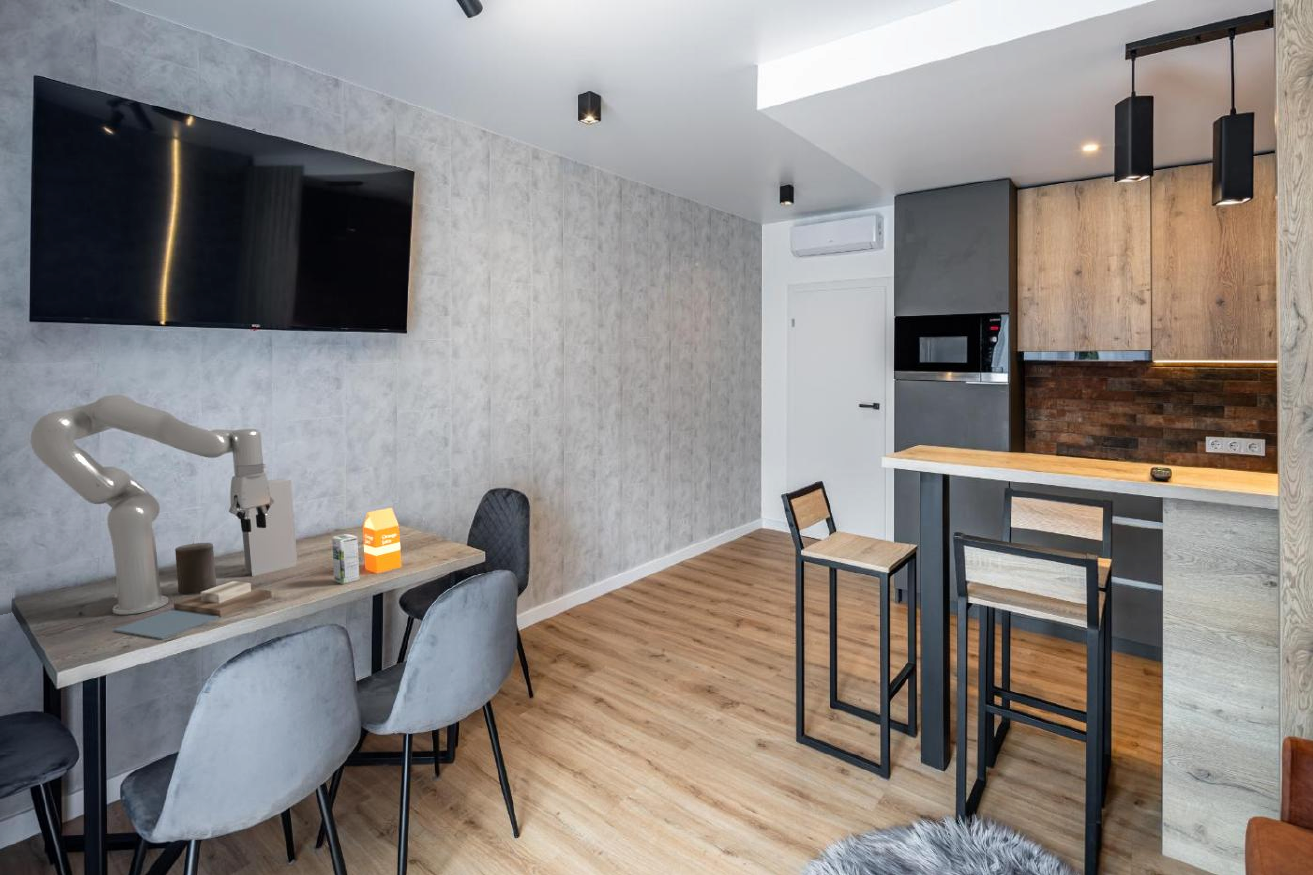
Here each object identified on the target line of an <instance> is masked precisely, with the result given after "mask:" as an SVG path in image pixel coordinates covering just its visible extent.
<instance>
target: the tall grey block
mask: <svg viewBox="0 0 1313 875" xmlns="http://www.w3.org/2000/svg"><path fill="white" fill-rule="evenodd" d="M268 484H269V490H270V497H271V498H272V499H273V500H274V503H273V504H272V505H271V506H270V508H269V510H268V511H267V514H266V515H265V516H266V528H258V527H257V524H256V515H257V514H258V513H257V510H256V507H255V508H250V509H249V517H248V519H250V520H251V532H241V534H242V544H243V557H244V566H245V567H244V569H245V573H246V574H251V576H252V577H257V576H260V574H261V575H263V574H268V573H272V572H277V571H281V570H286V569H289V568H293V567H294V566H295V567H298V556H297V555H298V554H297V540H296V529H295V517H294V515H295V514H294V503H293V492H292V491H293V490H292V479H288V480H287V479H285V478H277V479H271V480H268ZM243 514H244V512H243Z"/></svg>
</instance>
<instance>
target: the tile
mask: <svg viewBox="0 0 1313 875" xmlns="http://www.w3.org/2000/svg"><path fill="white" fill-rule="evenodd" d="M251 588H252V584H251V582H243V581H235V580H232V581H230V582H227V583H224V584H223V583H222V584H221V585H216V587H214V588H211V589H208V590H205V591H202V592H201V593H200V594H201V601H208V602H215V603H221V602H224V601H226V600H229V599H232V598H234V597H237V596H240V595H243V594H245V593H248V592H251Z"/></svg>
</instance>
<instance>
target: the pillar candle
mask: <svg viewBox="0 0 1313 875" xmlns="http://www.w3.org/2000/svg"><path fill="white" fill-rule="evenodd" d="M174 550H175V563H176V564H175V565H176V577H177V591H178V593H179V594H181V595H193V594H194V595H195V594H197V595H198V594H201V592H202V591H205V590H208V589H211V588H214V587H217V578H216V567H215V565H216V564H215V556H214V555H215V553H214V552H215V551H214V543H211V542H198V543H197V542H196V543H194V542H192V543H189V544H183V545H181V546H178V547H176V548H174Z"/></svg>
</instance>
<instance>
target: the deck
mask: <svg viewBox="0 0 1313 875" xmlns="http://www.w3.org/2000/svg"><path fill="white" fill-rule="evenodd" d="M271 598H273V597H272V590H267V589H265V590H264V589H259V588H252V587H251V592H248V593H245V594H243V595H240V596H237V597H234V598H232V599H229V600H226V601H224V602H221V603H215V602H208V601H201V593H199V594H197V595H195V596H192V597H191V596H190V597H188V598H186V599H183V600H179V601H177V602H174V603H173V609H174V610H181V611H188V612H194V613H201V614H208V615H215V616H219V618H222V616H223V617H225V616H227V615H230V614H232V613H235V612H238V611H240V610H243V609H245V607H246V608H248V607H250V605H251V606H253V605H256V604H258V603H260V602H264V601H266V600H268V599H271Z"/></svg>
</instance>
